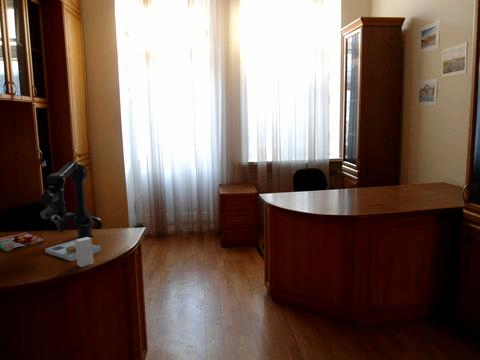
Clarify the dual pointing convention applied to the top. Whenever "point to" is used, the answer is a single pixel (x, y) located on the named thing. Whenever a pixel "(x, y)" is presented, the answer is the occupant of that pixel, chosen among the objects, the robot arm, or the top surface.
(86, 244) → the skincare box
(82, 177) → the robot arm
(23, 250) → the top surface
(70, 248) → the brown flat block
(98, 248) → the board
